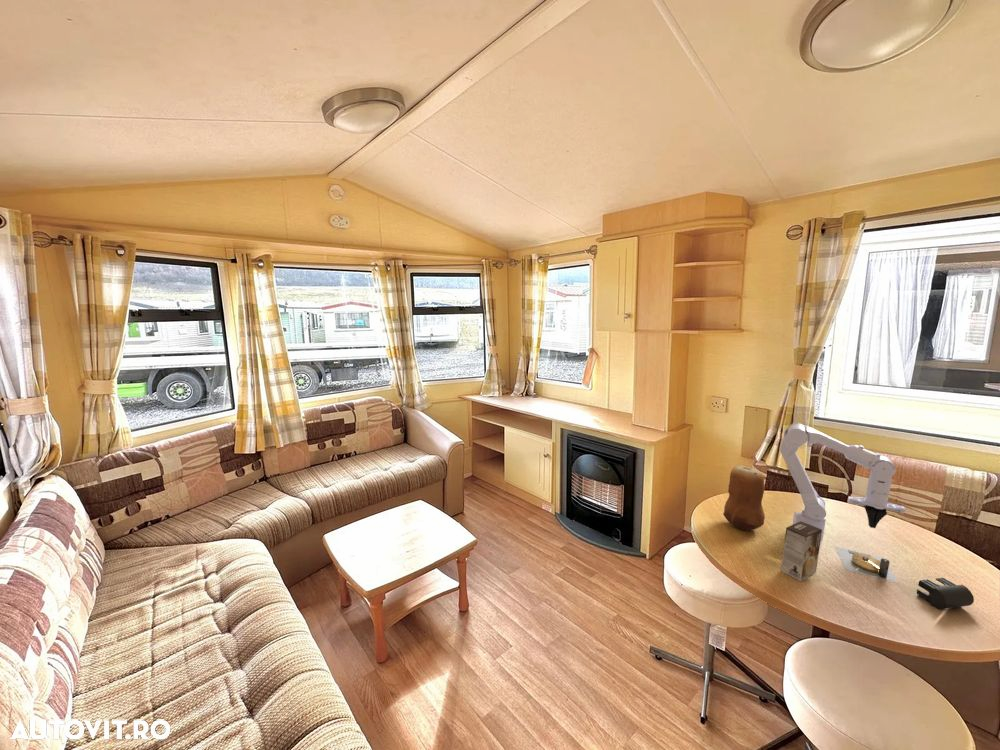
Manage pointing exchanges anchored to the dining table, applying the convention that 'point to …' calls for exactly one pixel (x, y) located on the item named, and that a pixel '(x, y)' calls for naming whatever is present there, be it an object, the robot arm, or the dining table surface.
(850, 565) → the board
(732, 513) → the butternut squash
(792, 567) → the coffee box
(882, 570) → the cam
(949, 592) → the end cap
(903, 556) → the dining table surface
